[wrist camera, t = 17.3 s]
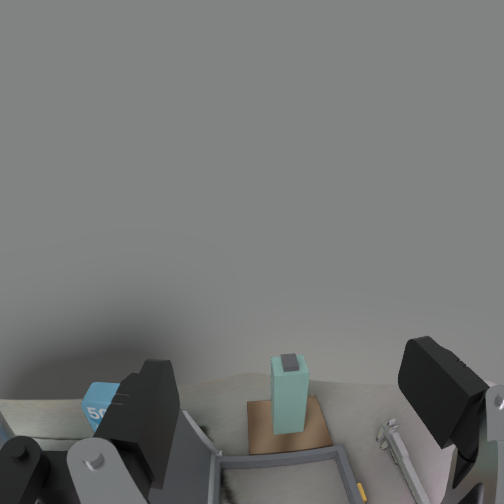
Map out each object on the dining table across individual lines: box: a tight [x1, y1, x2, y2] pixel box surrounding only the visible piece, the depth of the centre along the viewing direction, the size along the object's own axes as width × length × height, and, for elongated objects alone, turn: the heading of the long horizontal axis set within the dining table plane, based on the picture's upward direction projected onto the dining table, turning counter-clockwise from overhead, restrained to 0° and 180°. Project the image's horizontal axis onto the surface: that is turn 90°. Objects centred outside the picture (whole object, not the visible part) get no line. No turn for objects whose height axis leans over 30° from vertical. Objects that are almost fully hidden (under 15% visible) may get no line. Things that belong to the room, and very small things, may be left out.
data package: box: [81, 382, 120, 432], centre depth 32 cm, size 12×4×12 cm, turn 96°
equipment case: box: [148, 409, 367, 504], centre depth 22 cm, size 24×19×18 cm
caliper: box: [376, 419, 431, 504], centre depth 23 cm, size 20×1×6 cm, turn 7°
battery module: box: [271, 354, 309, 435], centre depth 37 cm, size 4×4×13 cm
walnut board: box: [247, 396, 333, 456], centre depth 39 cm, size 12×12×1 cm
